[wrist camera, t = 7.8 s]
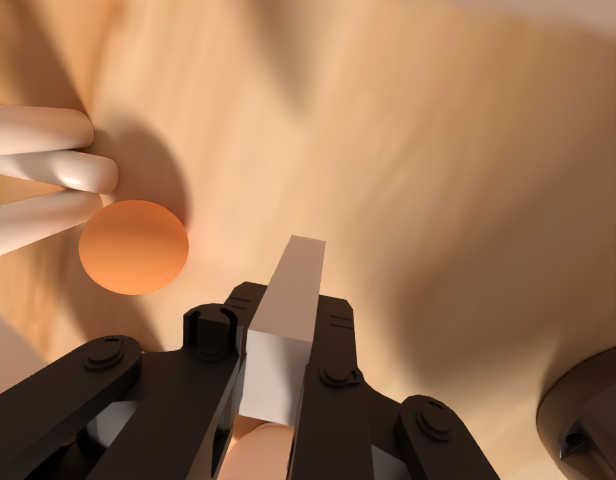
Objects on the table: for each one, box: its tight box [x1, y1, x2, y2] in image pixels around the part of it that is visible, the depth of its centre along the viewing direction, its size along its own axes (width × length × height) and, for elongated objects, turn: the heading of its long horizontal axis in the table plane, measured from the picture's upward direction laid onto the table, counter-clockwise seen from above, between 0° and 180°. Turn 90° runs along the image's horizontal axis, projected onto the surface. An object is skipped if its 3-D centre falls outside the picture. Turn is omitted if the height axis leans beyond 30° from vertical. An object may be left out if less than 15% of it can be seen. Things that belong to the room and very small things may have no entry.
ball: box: [79, 200, 189, 295], centre depth 19 cm, size 6×6×6 cm
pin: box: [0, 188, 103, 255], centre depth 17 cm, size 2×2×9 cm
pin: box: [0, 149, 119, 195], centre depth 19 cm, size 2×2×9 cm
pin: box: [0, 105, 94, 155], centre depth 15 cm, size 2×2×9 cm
